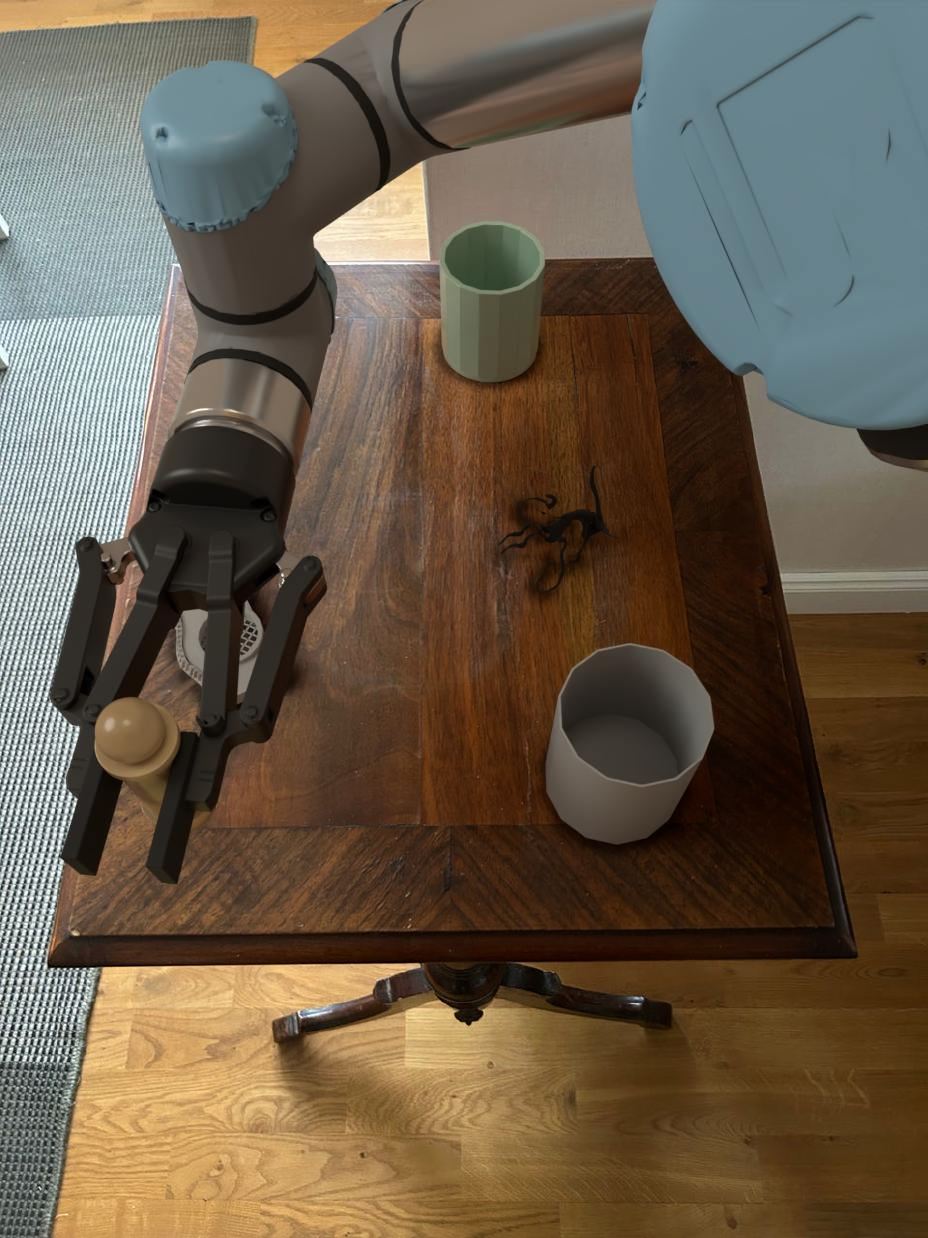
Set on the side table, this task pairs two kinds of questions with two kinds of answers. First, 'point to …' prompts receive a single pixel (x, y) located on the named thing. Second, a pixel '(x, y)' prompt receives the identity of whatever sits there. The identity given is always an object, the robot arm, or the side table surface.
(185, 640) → the lattice window wall
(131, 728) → the game piece
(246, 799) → the side table surface
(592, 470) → the creature
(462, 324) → the tumbler
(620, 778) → the cup
